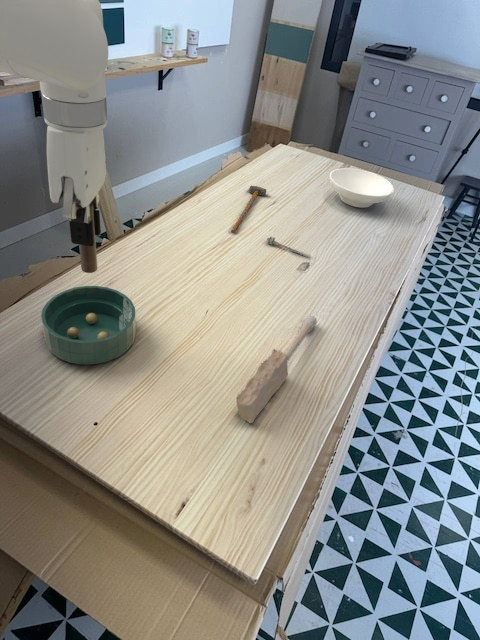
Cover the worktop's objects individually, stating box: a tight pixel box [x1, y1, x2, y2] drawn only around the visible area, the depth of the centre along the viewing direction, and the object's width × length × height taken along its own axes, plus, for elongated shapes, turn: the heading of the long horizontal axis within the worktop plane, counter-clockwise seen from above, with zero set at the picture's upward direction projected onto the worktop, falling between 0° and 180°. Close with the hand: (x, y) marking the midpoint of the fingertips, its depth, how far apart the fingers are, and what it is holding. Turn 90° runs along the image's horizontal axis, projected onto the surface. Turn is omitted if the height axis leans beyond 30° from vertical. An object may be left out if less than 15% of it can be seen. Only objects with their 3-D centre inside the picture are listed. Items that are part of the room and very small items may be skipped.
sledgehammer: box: [231, 185, 267, 234], centre depth 128 cm, size 27×2×5 cm
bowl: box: [329, 167, 395, 209], centre depth 141 cm, size 20×20×7 cm
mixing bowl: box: [40, 285, 137, 365], centre depth 81 cm, size 15×15×6 cm
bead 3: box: [97, 331, 109, 339], centre depth 81 cm, size 2×2×2 cm
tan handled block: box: [236, 315, 318, 424], centre depth 82 cm, size 8×4×30 cm
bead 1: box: [67, 327, 79, 339], centre depth 81 cm, size 2×2×2 cm
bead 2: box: [86, 313, 97, 324], centre depth 84 cm, size 2×2×2 cm
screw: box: [266, 236, 309, 258], centre depth 115 cm, size 2×11×2 cm
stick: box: [76, 203, 98, 274], centre depth 69 cm, size 2×2×11 cm
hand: (86, 237), depth 69 cm, fingers closed on stick, 2 cm apart
